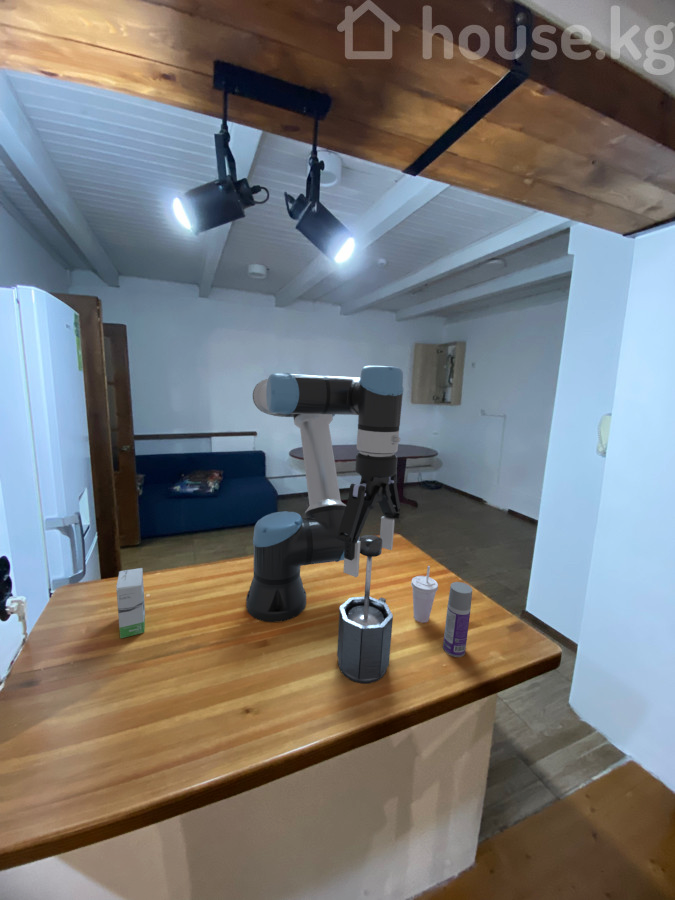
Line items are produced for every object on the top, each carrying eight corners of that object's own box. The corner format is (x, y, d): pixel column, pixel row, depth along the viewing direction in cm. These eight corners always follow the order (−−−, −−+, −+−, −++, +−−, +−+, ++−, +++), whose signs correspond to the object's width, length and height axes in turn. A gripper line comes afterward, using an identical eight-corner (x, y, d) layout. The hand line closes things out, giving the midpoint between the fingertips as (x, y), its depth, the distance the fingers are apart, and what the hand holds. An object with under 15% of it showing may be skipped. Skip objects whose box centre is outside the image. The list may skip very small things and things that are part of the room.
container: (466, 646, 82) (474, 585, 79) (463, 660, 77) (472, 596, 75) (444, 639, 83) (451, 579, 81) (441, 652, 79) (448, 589, 76)
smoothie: (435, 628, 87) (441, 574, 84) (407, 623, 88) (412, 570, 86) (433, 612, 93) (439, 561, 91) (408, 608, 94) (412, 558, 92)
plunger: (340, 621, 72) (344, 540, 69) (359, 604, 78) (364, 529, 75) (372, 637, 68) (378, 551, 65) (389, 617, 74) (396, 538, 71)
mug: (328, 667, 74) (331, 613, 71) (360, 633, 84) (363, 586, 82) (371, 692, 68) (376, 635, 66) (400, 652, 79) (405, 602, 76)
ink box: (144, 633, 81) (142, 584, 79) (119, 639, 79) (115, 589, 76) (145, 611, 88) (142, 566, 86) (121, 616, 86) (118, 570, 84)
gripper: (359, 467, 55) (351, 595, 58) (421, 447, 75) (413, 543, 79) (319, 459, 59) (314, 580, 63) (389, 442, 79) (382, 534, 83)
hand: (369, 560), depth 71 cm, fingers open, 13 cm apart
